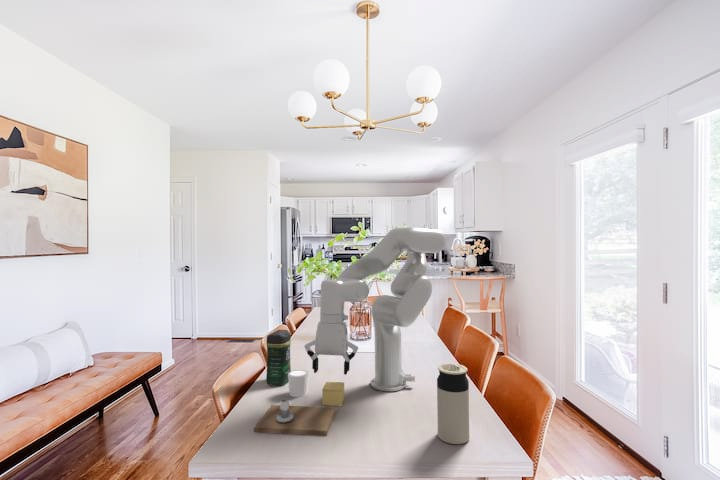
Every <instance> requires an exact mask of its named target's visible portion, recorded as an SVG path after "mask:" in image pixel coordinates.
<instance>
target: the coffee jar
mask: <svg viewBox="0 0 720 480" xmlns="http://www.w3.org/2000/svg"><path fill="white" fill-rule="evenodd" d="M291 340H292V339H291V332H290V331H289V330H288V329H277V330H274V331H273V332H271V333H270V334H268V335H267V336H266V381H265V382H266V384H267V385H270V386H273V387H277V386H283V385H286V384H287V383H289V380H288V373H289V372H291V371H292V369H291V367H292V366H291V344H292V343H291Z"/></svg>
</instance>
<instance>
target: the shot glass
mask: <svg viewBox="0 0 720 480" xmlns="http://www.w3.org/2000/svg"><path fill="white" fill-rule="evenodd" d="M288 380H289V381H288V388H289V395H290V396H291V397H293V398H301V397H304V396H306V395H307V393H308V383H309V382H308V381H309V371H307V370H305V369H296V370H291V372H289V373H288Z"/></svg>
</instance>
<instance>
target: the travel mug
mask: <svg viewBox="0 0 720 480" xmlns="http://www.w3.org/2000/svg"><path fill="white" fill-rule="evenodd" d="M437 369H438V373H439V375H438V377H437V379H436V394H437V395H436V396H437V397H436V401H437V405H436V407H437V413H436V415H437V436H438V439H440V440H441V441H443V442H445V443H447V444H451V445H463V444H465V443H467V442H469V440H470V391H469V390H470V388H469V387H470V386H469V383H470V382H469V379H468V378H467V372H468V368H467V367H466V366H465V365H463V364H459V363H455V362H454V363H452V362H451V363H446V362H445V363H442V364H440V365H438V366H437Z"/></svg>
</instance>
